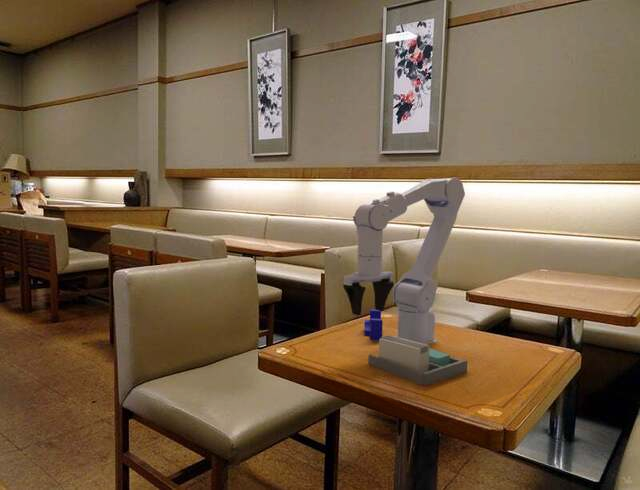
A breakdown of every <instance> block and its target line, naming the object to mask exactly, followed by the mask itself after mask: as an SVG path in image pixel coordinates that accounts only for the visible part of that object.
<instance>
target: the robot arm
mask: <svg viewBox="0 0 640 490" xmlns="http://www.w3.org/2000/svg"><path fill="white" fill-rule="evenodd" d="M465 195H466V193H465V187H464V184H463V182H462V180H461V179H460V178H459V177H451V178H449V177H448V178H426V179H423V180H421V181H420V183H418V184H416V185H414V186H412V187H411V188H409V189H408V190H407V189H406V191H404V192H402V193H400V192H397V191H388V192H386V196H383V197H382V198H380V199H377V198H375V199H373V200H372V202H371V203H370V204H361V205H360V206H358V207H357V209H356V210H355V213H354V215H353V216H352V220H353V224H354V225H355V227H356V233H357V238H358V239H357V261H356V264H357V268H356V271H355V272H354V273H352V274H349V275H343V285H342V286H343V289H344V291H345V293H346V296H347V298H348V300H349V303H350V304H349V305H350V307H351V308H350V309H351V313H352V314H353V315H355V316H361V314H362V307H363V306H362V305H363V298H364V293H365V291H366V290H367V289H366V287H365V286H362V285H361V284H365V283H367V284H368V283H372V287H373V291H374V308H375V309H374V310H379V311H381V312H384V310H385V305H386V302H387V300H388V296H389V294H390V292H391V290H392V300H393V301H394V302H395V304H396V308H398V316H397V337H399V338H403V339H407V340H410V341H414V342H418V343H422V344H426V345H430V344H433V343H436V342H437V340H435V328H436V318H435V314H434V311H433V310H432V309H431V308H432V307H433V305H434V303H435V299H436V291H437V288H438V286H437V283H436V282H435V280H434V279H433V275H434V273H435V271H436V268H437V266H438V263H439V261H440V259H441V256H442V255H443V252H444V249H445V247H446V244H447V241H448V240H449V237H450V235H451V234H452V233H451V232H452V231H453V228H454V226H455V223H456V220H457V217H458V212H459V210H460V208H461V205H462V203H463V200H464V198H465ZM423 200H424V202H425V204H426V206H427V208H428V210H429V212H430V213H431V214H433V219H432V220H431V221H432V222H431V224H430V226H429V228H428V231H427V233H426V235H425V238H424V240H423V243H422V245H421V247H420V250H419V251H418V254H417V256H416V259H415V261H414V264H413V266H412V268H411V269H410V270H408V271H406V272H404V273H403V274H402V275H401V277H400V279H399V280H398V282H397V283H395V282H394V281H393V280H394V272H393V271H388V270H386V271H382V268H383V267H382V264H383V263H382V262H383V235H384V234H383V231H384V229H386V227H387V226H388V225H389V222H390V221H393V220H394V219H396V218H398V217H399V216H402V215H404V214H405V213H407V210H408V207H410V206H412V205H413V204H417V203H419V202H421V201H423ZM394 283H395V284H394Z"/></svg>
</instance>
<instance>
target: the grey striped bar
mask: <svg viewBox="0 0 640 490" xmlns="http://www.w3.org/2000/svg"><path fill="white" fill-rule="evenodd" d="M378 341H379V342H378V357H379V358H382V359H384V360H387V361H390V362H392V363H395V364H398V365H401V366H403V367H406V368H409V369H411V370H414V371H417V372H419V373H424V372H427V371H428V369H429V349H430V344H422V343H418V342H414V341H410V340H407V339H403V338H399V337H398V336H395V335H394V336H393V335H384V336H382V337H381V338H380V339H379V340H378Z"/></svg>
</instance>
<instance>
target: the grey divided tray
mask: <svg viewBox="0 0 640 490" xmlns="http://www.w3.org/2000/svg"><path fill="white" fill-rule="evenodd" d="M367 362H368V365H370V366H373V367H374V368H375V367H376V368H377V369H380V370H383V371H386V372H388V373H391V374H393V375H396V376H398V377H401V378H404V379H406V380H409V381H411V382H413V383H416V384H418V385H420V386H424V387H427V386H430V385H432V384H433V385H434V384H435V383H439V382H441V381H444V380H448V379H450V378H453V377H456V376H458V375H462V374H465V373H467V372H468V360H467V359H458V358H455V357H453V356H450V364H449V365H446V366H443V367H442V366H439V365H436V364H433V363H430V362H429V369H428V371H427V372H424V373H419V372H417V371H414V370H411V369H409V368H406V367H403V366H401V365H398V364H395V363H392V362H390V361H387V360H384V359H382V358H379V356H376V355H373V354H368V360H367Z"/></svg>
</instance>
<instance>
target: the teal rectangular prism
mask: <svg viewBox="0 0 640 490" xmlns="http://www.w3.org/2000/svg"><path fill="white" fill-rule="evenodd" d="M450 357H451V354H449V353H445V352H442V351H438V350H436V349H432V348H429V362H430V363H433V364H436V365H439V366H442V367H443V366H446V365H449V364H450Z"/></svg>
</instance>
